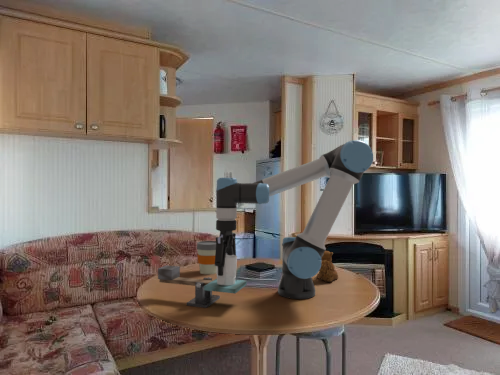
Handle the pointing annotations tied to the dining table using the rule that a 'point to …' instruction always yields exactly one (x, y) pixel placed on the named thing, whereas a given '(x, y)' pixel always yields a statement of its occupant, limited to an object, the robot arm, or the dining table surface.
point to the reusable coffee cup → (206, 256)
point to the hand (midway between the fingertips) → (225, 281)
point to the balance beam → (196, 280)
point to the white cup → (229, 269)
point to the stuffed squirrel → (327, 268)
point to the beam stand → (202, 296)
